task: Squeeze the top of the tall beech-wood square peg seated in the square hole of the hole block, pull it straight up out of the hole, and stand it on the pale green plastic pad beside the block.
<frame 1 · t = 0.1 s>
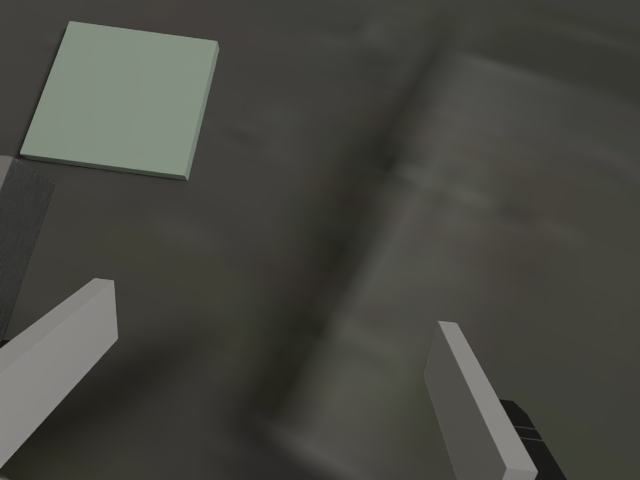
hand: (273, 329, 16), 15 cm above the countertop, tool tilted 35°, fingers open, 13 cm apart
pad: (128, 101, 36), on the countertop
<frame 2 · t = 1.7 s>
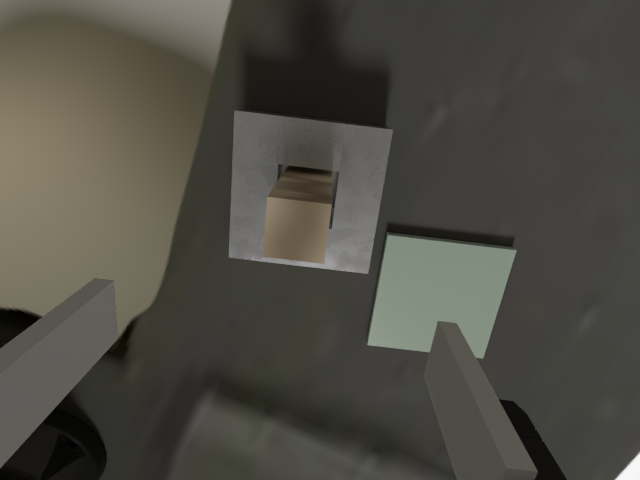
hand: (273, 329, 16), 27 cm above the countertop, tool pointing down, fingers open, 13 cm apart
square peg: (308, 188, 40), point 1 cm above the countertop, touching hole block
pad: (435, 295, 45), on the countertop
hole block: (308, 186, 41), on the countertop
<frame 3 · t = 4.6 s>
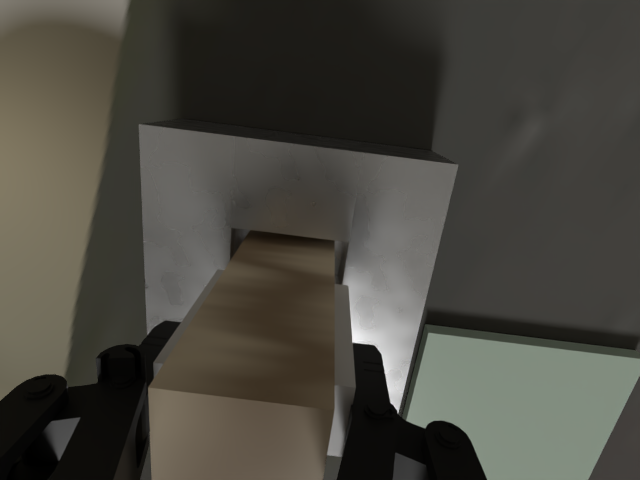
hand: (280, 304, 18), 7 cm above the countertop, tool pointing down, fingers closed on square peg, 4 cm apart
square peg: (292, 257, 23), point 1 cm above the countertop, touching gripper, hole block
pad: (500, 419, 28), on the countertop
hole block: (294, 250, 24), on the countertop
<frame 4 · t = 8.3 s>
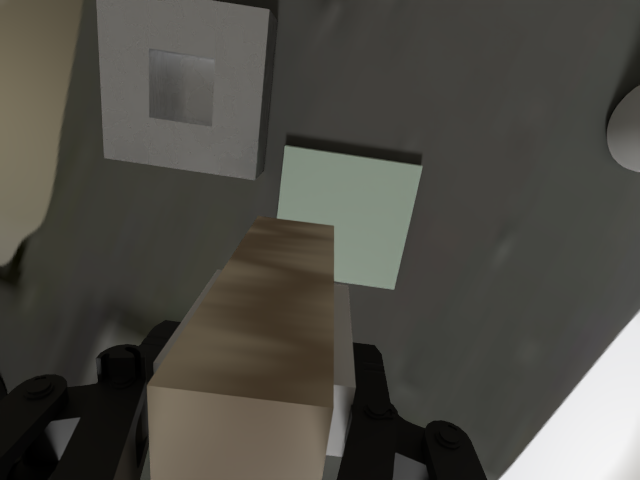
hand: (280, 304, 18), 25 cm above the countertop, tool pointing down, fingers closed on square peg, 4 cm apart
square peg: (292, 256, 23), point 19 cm above the countertop, touching gripper
pad: (342, 219, 42), on the countertop
hole block: (199, 90, 38), on the countertop
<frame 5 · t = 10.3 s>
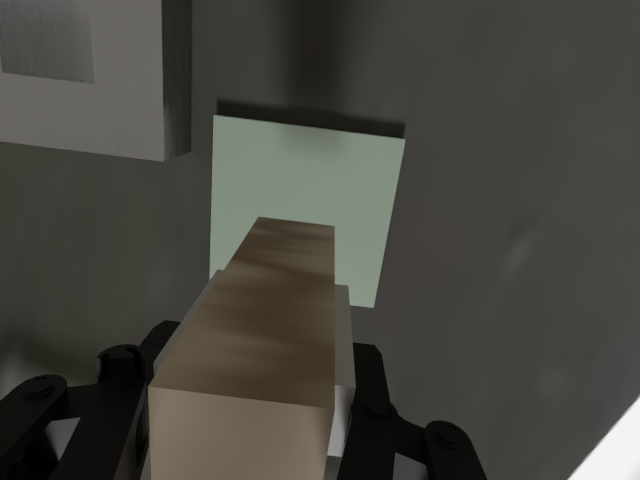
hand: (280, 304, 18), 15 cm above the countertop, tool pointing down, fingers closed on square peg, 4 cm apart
square peg: (292, 256, 23), point 9 cm above the countertop, touching gripper
pad: (301, 215, 31), on the countertop
hole block: (92, 39, 27), on the countertop
when the fingers open (7 cm above the countertop, at t = 12.1 s): square peg stays where it is, resting on pad.
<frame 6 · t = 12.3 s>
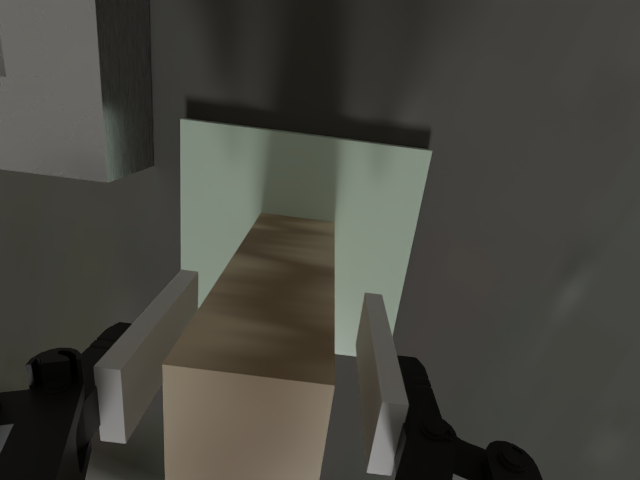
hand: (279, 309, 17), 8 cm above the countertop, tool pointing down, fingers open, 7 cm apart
square peg: (294, 251, 24), point 1 cm above the countertop, touching pad
pad: (295, 246, 25), on the countertop
hole block: (20, 19, 21), on the countertop
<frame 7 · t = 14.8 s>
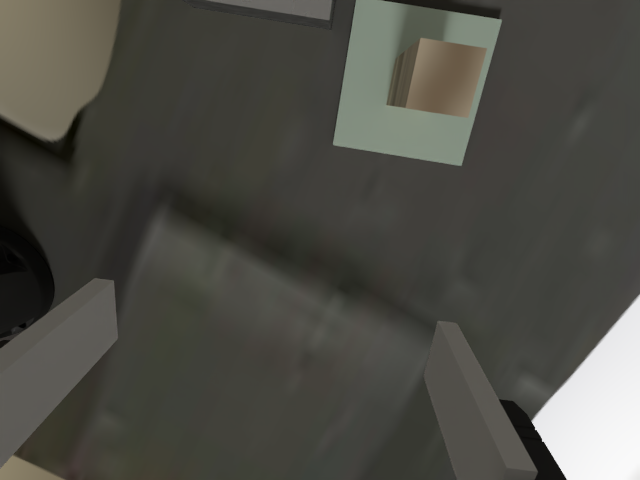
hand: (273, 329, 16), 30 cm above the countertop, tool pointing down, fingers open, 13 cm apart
square peg: (412, 85, 39), point 1 cm above the countertop, touching pad
pad: (410, 86, 40), on the countertop
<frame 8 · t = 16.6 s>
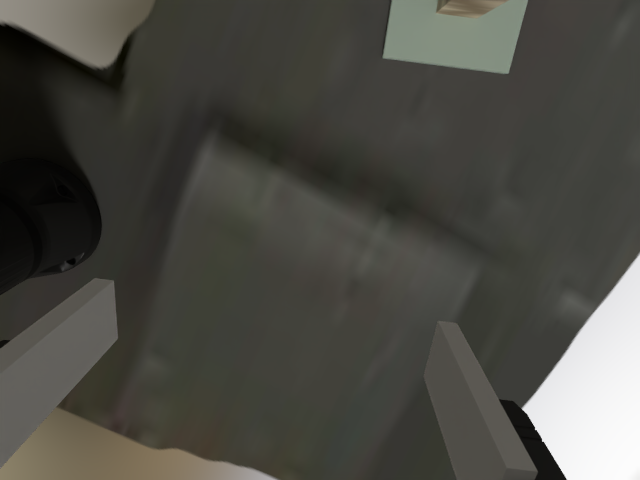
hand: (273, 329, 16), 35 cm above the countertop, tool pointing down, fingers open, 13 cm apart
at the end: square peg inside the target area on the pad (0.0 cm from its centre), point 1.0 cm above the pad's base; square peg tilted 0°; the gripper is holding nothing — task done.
